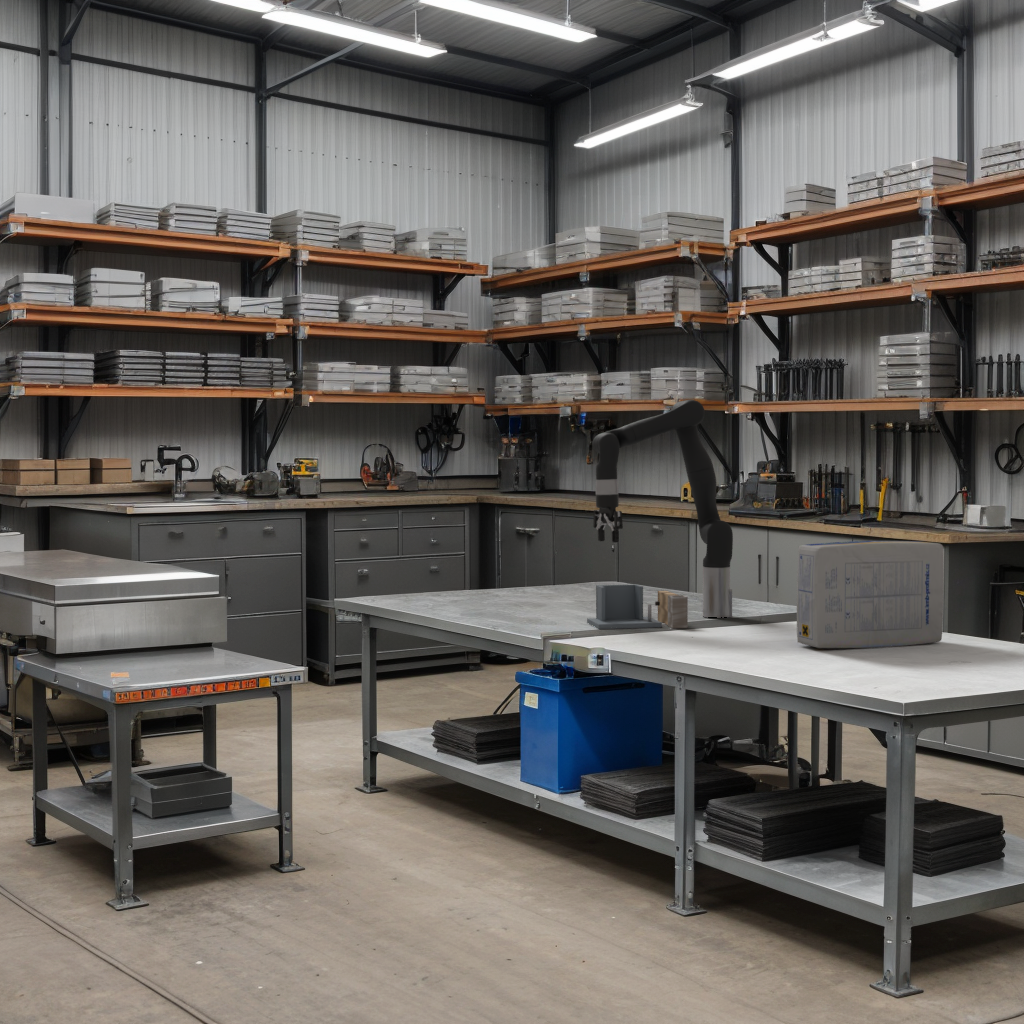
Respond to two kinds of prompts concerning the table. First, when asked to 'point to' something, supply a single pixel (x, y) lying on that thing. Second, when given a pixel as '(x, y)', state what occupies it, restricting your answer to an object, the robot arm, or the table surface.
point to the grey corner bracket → (621, 608)
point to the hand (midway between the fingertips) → (608, 541)
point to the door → (672, 609)
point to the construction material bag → (869, 594)
